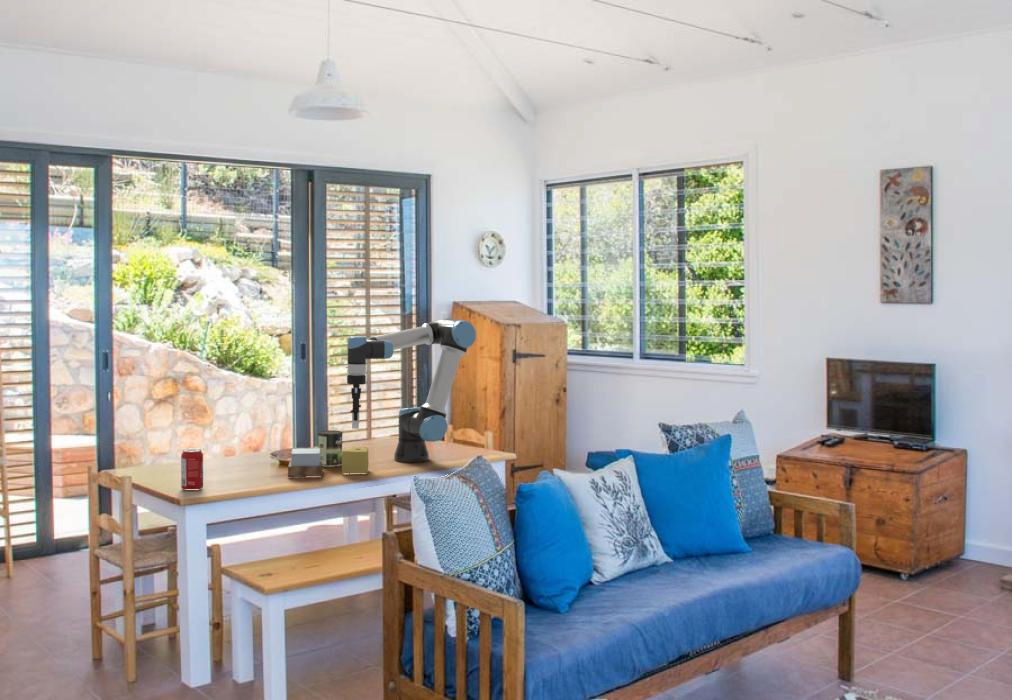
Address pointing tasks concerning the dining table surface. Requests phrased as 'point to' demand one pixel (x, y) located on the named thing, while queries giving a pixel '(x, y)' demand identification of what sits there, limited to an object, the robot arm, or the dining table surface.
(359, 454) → the olive yellow cube
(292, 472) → the tower base
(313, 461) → the tower top
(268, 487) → the dining table surface
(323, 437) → the coffee can
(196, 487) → the soda can
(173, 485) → the dining table surface
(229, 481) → the dining table surface
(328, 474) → the dining table surface
